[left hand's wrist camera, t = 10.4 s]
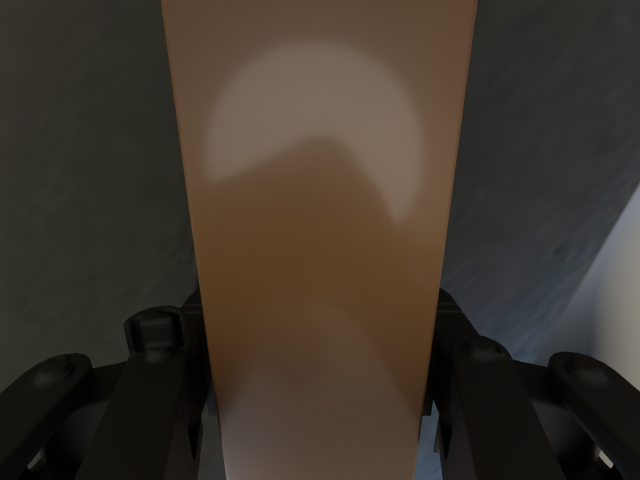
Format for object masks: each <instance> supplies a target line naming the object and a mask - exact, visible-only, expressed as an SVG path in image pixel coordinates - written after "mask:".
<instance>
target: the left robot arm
mask: <svg viewBox="0 0 640 480" xmlns="http://www.w3.org/2000/svg"><path fill="white" fill-rule="evenodd" d="M123 326H124V331H125V335H126V339H127V344H128V348H129V352H130V356H129V358H128V361H125V362H121V363H118V364H113V365H108V366H103V367H98V368H92V364H91V360H90V359H89V358H88V357H87V356H86V355H84V354H78V353H72V354H63V355H59V356H55V357H52V358H49V359H47V360H45V361H43V362H41V363H39V364H37V365H35V366H34V367H32V368H31V369H29V370H28V371H26V372H25V373H24V374H23V375H21V376H20V377H19V378H18V379H17V380H16V381H14V382H13V383H12V384H11V385H10V386H9V387H7V388H6V389H5V390H4V391H3V392H2V393H0V480H197V478H198V469H199V461H200V452H201V443H202V434H203V426H202V419H201V413H202V411H203V408H204V405H205V403H206V400H207V405H208V412H209V416H217V410H216V402H215V395H214V388H213V381H212V373H211V366H210V359H209V351H208V344H207V337H206V329H205V322H204V315H203V308H202V300H201V293H200V289H199V290H197V291H196V292H194V293H193V294H191V295H190V296H189V297H188V299H187V300H186V302H185V303H184V304H183V306H182V307H181V308H178V307H174V306H158V307H153V308H148V309H146V310H143V311H140V312H138V313H136V314H135V315H133V316H131V317H130V318H128V319H127V321H126V322H125V323H124V324H123ZM433 399H434V402H435V404H436V407H437V409H438V412H439V419H438V426H437V432H436V438H435V445H434V452H436V453H438V451H440V460H441V469H442V477H443V480H640V391H639V390H637V389H636V388H635V387H634V386H633V385H631V384H630V383H629V382H628V381H627V380H626V379H624V378H623V377H622V376H621V375H620V374H618V373H617V372H616V371H615V370H613V369H612V368H610V367H609V366H608V365H606V364H605V363H603V362H601V361H598V360H596V359H594V358H593V357H590V356H587V355H583V354H580V353H573V352H559V353H555V354H554V355H552V356H551V357H550V359H549V363H548V366H547V367H544V366H539V365H535V364H530V363H525V362H520V361H517V360H513V359H512V358H511V356H510V354H509V353H508V351H507V350H506V349H505V347H503V346H502V345H501V344H499V343H498V342H496V341H494V340H492V339H490V338H487V337H485V336H480V335H479V334H478V333H477V331H476V330H475V328H474V327H473V326H472V324H471V323H470V321H469V320H468V319H467V317H466V316H465V314H464V313H462V310H461V309H460V307H459V306H458V305H457V303H456V302H455V300H454V299H453V298H452V296H451V295H450V294H449V293H447V292H446V291H444V290H443V289H441V288H439V295H438V303H437V310H436V318H435V325H434V333H433V340H432V348H431V355H430V363H429V370H428V378H427V385H426V393H425V400H424V408H423V415H422V416H431V411H432V404H433ZM601 450H602V451H603V452H604V453H605V455H606V456H607V457H608V458H609V459H610V460H611V462H612V463H613V467H612V468H610V467H608V466H607V465H606V464H605V463H604V462H603V460H602V459H601V458H600V457H599V453H600V451H601ZM38 452H40V454H41V458H40V460H39V461H38V462H37V463H36V464H35V465H34V466H33V467H32V468H31V469H30V470H29V469H28V468H27V465H28V464H29V463H30V462H31V460H32V459H33V458H34V457H35V456H36V455H37V453H38Z"/></svg>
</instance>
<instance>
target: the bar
mask: <svg viewBox="0 0 640 480" xmlns="http://www.w3.org/2000/svg"><path fill="white" fill-rule="evenodd" d="M160 1H161V9H162V16H163V23H164V31H165V38H166V45H167V52H168V60H169V67H170V74H171V82H172V89H173V96H174V103H175V111H176V118H177V125H178V133H179V140H180V147H181V154H182V162H183V169H184V176H185V184H186V191H187V198H188V206H189V213H190V220H191V227H192V235H193V242H194V249H195V257H196V264H197V271H198V278H199V286H200V293H201V300H202V308H203V315H204V322H205V329H206V337H207V344H208V351H209V359H210V366H211V373H212V381H213V388H214V395H215V402H216V410H217V417H218V424H219V432H220V439H221V446H222V453H223V461H224V468H225V475H226V480H414V475H415V468H416V460H417V453H418V445H419V438H420V430H421V423H422V415H423V408H424V400H425V393H426V385H427V378H428V370H429V363H430V355H431V348H432V340H433V333H434V325H435V318H436V310H437V303H438V295H439V288H440V280H441V273H442V265H443V258H444V250H445V243H446V235H447V228H448V220H449V213H450V205H451V198H452V190H453V183H454V175H455V168H456V160H457V153H458V145H459V138H460V130H461V123H462V115H463V108H464V100H465V93H466V85H467V78H468V70H469V63H470V55H471V48H472V40H473V33H474V25H475V18H476V10H477V3H478V0H160Z"/></svg>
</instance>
